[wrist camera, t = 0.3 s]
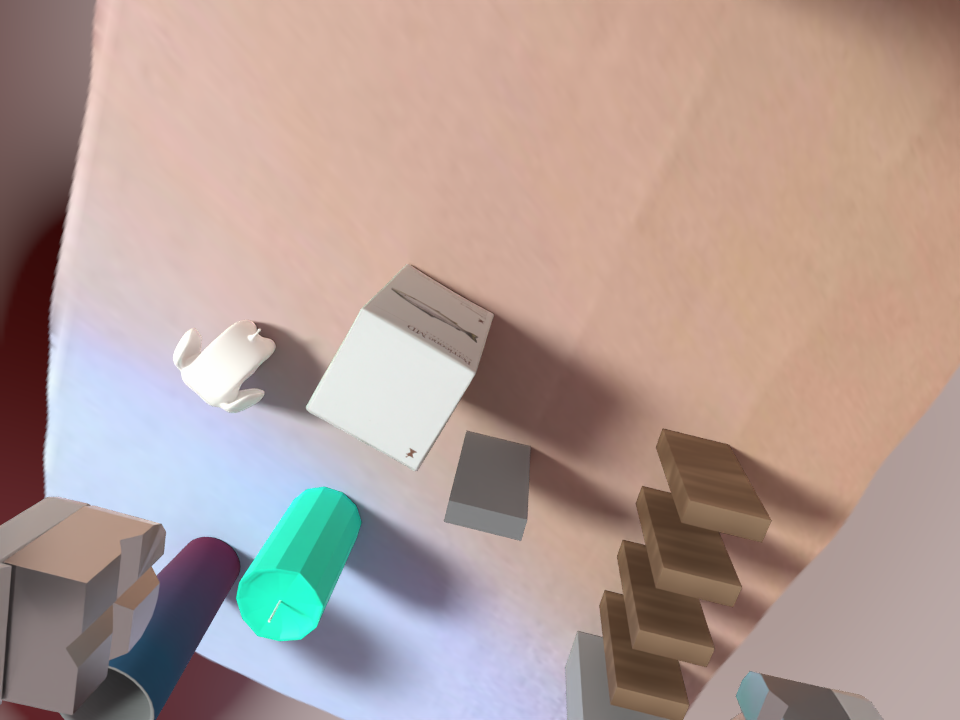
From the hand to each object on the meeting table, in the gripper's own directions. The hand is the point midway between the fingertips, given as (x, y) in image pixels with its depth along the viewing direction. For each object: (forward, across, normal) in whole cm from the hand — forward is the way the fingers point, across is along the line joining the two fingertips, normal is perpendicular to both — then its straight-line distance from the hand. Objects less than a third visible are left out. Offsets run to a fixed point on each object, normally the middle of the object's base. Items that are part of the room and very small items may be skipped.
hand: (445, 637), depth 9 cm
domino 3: (+41, -16, +18) cm, 48 cm away
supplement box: (+40, +5, +4) cm, 40 cm away
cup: (+42, +19, +29) cm, 55 cm away
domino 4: (+42, -16, +23) cm, 50 cm away
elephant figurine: (+40, +18, +9) cm, 45 cm away
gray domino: (+40, -2, +12) cm, 42 cm away
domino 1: (+40, -16, +8) cm, 44 cm away
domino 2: (+40, -16, +13) cm, 45 cm away
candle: (+42, +10, +22) cm, 48 cm away
